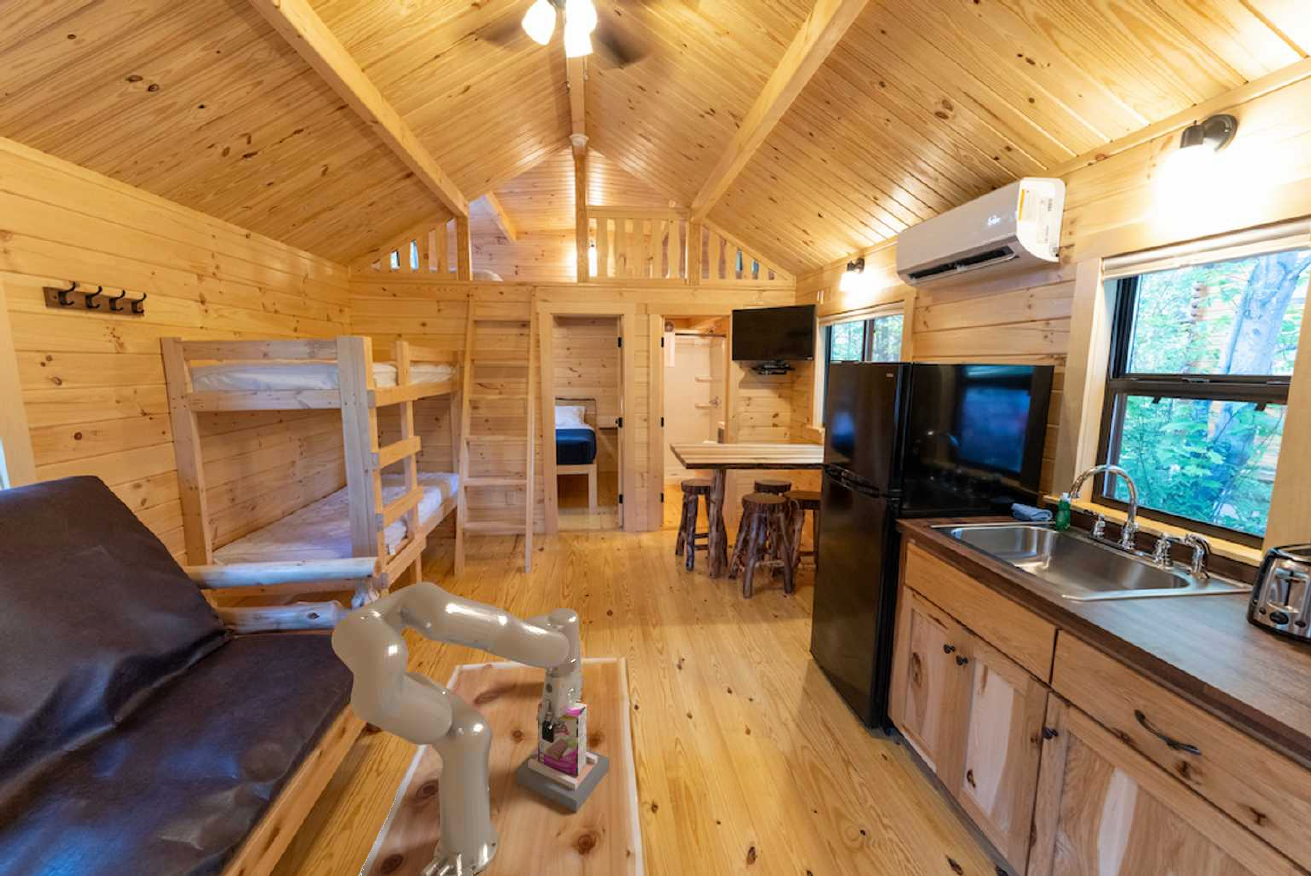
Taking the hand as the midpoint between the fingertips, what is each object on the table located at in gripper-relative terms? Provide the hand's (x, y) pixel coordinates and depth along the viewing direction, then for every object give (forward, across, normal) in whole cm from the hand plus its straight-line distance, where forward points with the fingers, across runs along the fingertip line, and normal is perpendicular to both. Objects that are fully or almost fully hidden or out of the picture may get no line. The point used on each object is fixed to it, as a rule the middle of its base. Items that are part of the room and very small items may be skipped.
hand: (560, 727), depth 122 cm
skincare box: (+13, +28, +19) cm, 36 cm away
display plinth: (+14, +1, 0) cm, 14 cm away
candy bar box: (+10, +1, 0) cm, 11 cm away
